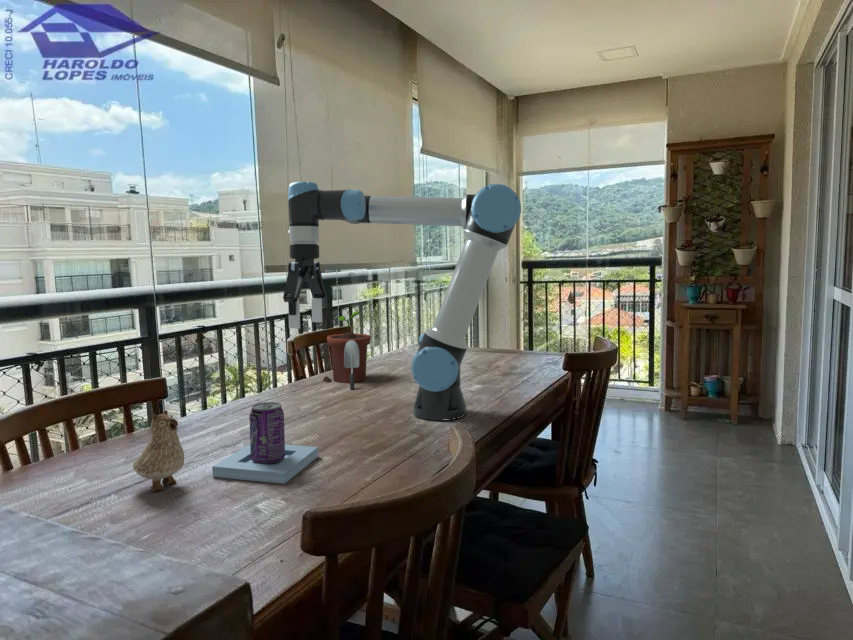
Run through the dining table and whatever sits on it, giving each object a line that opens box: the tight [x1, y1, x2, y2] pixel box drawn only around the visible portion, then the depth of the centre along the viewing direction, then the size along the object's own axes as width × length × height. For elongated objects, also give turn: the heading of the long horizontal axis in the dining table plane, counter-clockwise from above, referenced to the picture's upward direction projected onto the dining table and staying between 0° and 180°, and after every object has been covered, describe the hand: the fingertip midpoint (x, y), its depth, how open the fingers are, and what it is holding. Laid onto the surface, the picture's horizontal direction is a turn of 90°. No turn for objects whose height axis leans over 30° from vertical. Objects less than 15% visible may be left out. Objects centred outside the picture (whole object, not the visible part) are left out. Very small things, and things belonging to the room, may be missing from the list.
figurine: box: [132, 410, 185, 493], centre depth 112 cm, size 9×10×15 cm
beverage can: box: [248, 401, 286, 464], centre depth 123 cm, size 7×7×12 cm
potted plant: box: [322, 311, 372, 390], centre depth 206 cm, size 18×22×25 cm
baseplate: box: [211, 443, 319, 485], centre depth 123 cm, size 16×16×2 cm
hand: (306, 325), depth 152 cm, fingers open, 13 cm apart
